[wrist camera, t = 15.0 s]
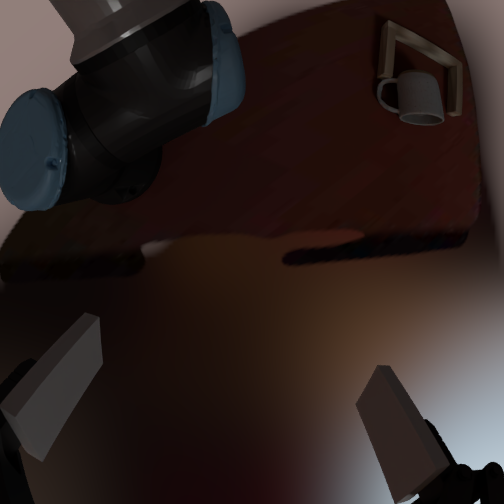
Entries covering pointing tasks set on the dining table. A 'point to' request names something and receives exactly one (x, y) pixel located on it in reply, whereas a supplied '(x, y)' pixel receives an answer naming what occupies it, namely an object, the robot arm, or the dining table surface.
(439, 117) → the ceramic mug
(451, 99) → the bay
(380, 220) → the dining table surface
